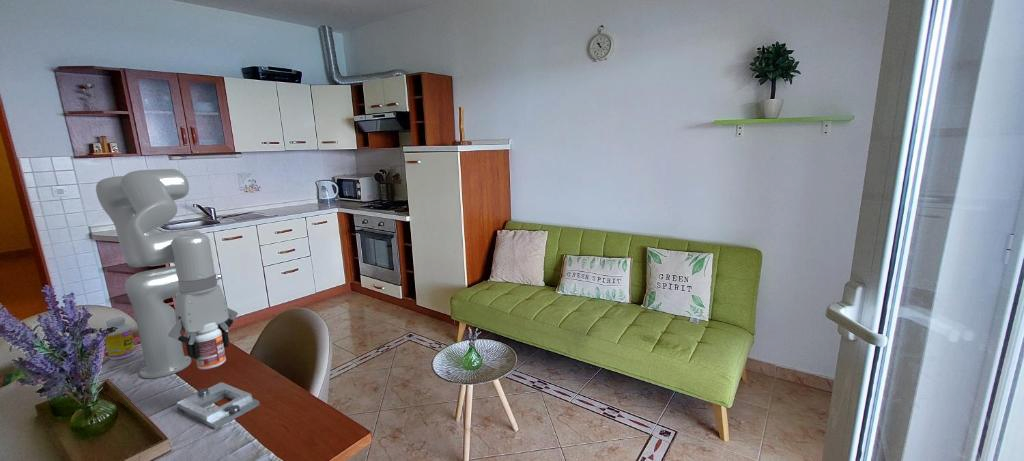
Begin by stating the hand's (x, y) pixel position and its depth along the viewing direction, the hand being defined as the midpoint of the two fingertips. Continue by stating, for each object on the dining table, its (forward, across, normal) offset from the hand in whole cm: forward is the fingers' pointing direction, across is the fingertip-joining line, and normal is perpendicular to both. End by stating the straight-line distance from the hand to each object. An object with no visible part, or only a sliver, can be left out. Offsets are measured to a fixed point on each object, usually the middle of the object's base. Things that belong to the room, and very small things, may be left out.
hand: (209, 351), depth 109 cm
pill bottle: (+4, 0, 0) cm, 4 cm away
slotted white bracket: (+16, 0, 0) cm, 16 cm away
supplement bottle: (+16, -3, -62) cm, 64 cm away
